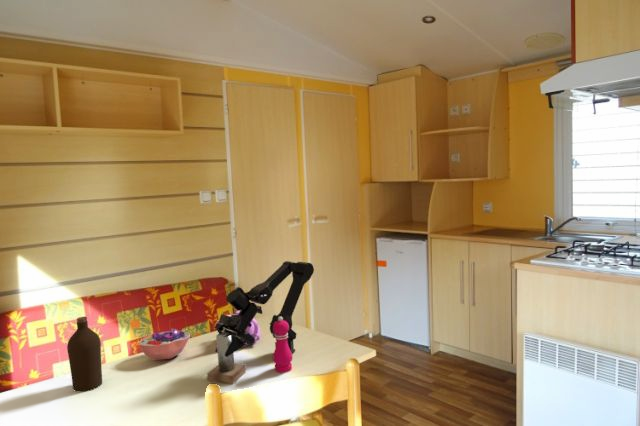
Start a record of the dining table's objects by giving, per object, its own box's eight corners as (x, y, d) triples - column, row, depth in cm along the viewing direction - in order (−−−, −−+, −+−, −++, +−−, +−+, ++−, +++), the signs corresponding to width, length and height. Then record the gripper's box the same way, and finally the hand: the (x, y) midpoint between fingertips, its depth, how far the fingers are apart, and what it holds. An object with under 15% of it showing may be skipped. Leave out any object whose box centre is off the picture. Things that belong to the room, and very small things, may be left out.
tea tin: (235, 364, 168) (232, 331, 167) (233, 371, 163) (231, 337, 162) (219, 366, 168) (217, 333, 167) (217, 372, 162) (215, 338, 161)
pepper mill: (296, 366, 172) (293, 314, 170) (287, 374, 165) (284, 320, 164) (279, 364, 175) (276, 313, 173) (270, 371, 168) (266, 318, 167)
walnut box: (245, 372, 169) (245, 364, 169) (232, 384, 159) (232, 375, 159) (221, 370, 172) (221, 362, 172) (207, 381, 162) (207, 373, 162)
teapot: (201, 347, 197) (199, 316, 196) (237, 332, 215) (235, 303, 214) (238, 357, 184) (235, 323, 183) (273, 340, 202) (271, 309, 201)
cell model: (140, 355, 192) (137, 328, 192) (189, 346, 200) (187, 321, 199) (140, 369, 177) (138, 341, 176) (193, 359, 184) (191, 332, 183)
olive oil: (80, 395, 157) (74, 324, 155) (65, 388, 163) (58, 320, 161) (110, 383, 165) (104, 315, 164) (94, 377, 171) (88, 312, 170)
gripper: (217, 301, 173) (192, 337, 166) (246, 309, 160) (221, 348, 153) (235, 317, 179) (212, 352, 172) (265, 326, 166) (241, 365, 159)
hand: (220, 354), depth 164 cm, fingers closed on tea tin, 5 cm apart
